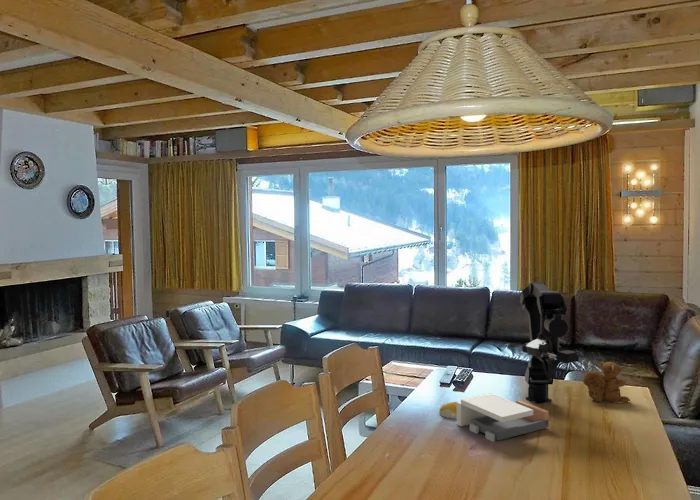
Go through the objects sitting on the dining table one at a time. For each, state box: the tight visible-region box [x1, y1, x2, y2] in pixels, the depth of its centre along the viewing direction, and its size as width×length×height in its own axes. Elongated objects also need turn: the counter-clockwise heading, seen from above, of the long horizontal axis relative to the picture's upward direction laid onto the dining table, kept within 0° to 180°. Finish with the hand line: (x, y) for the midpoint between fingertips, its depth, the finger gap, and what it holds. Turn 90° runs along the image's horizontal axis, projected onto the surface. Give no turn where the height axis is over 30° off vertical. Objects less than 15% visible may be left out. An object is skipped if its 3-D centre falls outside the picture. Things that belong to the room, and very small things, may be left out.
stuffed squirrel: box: [581, 361, 631, 403], centre depth 202 cm, size 10×14×13 cm
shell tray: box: [471, 399, 550, 441], centre depth 176 cm, size 20×12×5 cm, turn 118°
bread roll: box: [439, 401, 458, 419], centre depth 190 cm, size 8×9×4 cm
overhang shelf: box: [456, 392, 533, 443], centre depth 174 cm, size 12×20×8 cm, turn 28°
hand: (549, 378), depth 187 cm, fingers closed
